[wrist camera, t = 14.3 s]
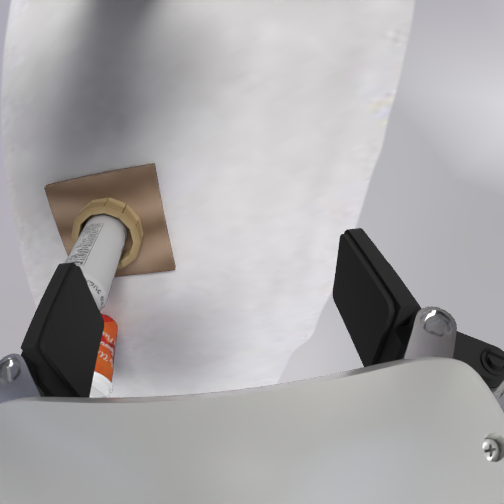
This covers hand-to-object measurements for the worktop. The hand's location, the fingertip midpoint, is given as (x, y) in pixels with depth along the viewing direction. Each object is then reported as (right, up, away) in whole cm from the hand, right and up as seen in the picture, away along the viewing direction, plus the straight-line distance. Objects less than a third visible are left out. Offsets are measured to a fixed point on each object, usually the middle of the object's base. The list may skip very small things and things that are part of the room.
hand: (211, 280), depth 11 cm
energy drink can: (-18, +4, +30) cm, 35 cm away
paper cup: (-25, -12, +41) cm, 50 cm away
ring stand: (-18, +5, +31) cm, 36 cm away
